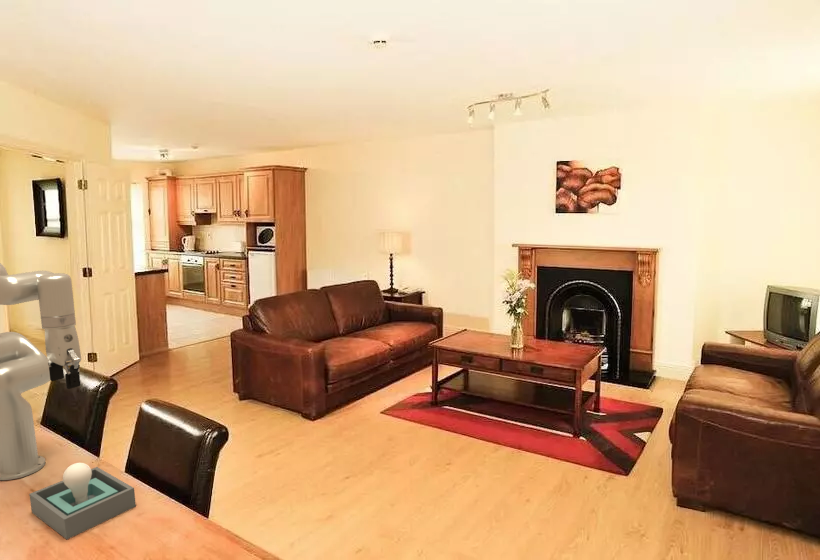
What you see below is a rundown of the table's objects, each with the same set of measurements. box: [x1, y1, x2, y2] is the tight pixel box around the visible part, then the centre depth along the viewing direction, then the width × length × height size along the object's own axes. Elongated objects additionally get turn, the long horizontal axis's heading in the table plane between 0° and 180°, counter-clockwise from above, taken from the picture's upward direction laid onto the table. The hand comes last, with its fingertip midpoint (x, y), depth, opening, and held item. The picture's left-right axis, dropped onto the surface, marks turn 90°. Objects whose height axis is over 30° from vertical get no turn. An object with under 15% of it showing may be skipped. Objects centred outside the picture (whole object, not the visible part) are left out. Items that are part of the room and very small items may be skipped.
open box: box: [28, 466, 137, 540], centre depth 135 cm, size 19×16×5 cm
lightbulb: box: [62, 462, 92, 504], centre depth 135 cm, size 6×6×11 cm
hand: (65, 383), depth 145 cm, fingers open, 9 cm apart
